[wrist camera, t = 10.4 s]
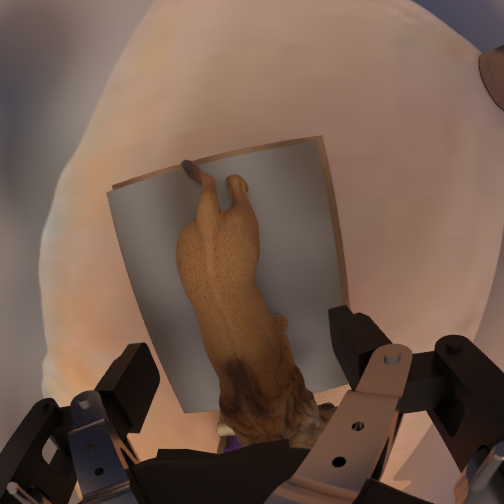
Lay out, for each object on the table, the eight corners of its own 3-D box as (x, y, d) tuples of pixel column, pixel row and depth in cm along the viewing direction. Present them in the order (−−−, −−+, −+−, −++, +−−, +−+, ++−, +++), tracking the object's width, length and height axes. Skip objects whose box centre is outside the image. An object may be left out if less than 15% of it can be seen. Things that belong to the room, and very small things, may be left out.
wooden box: (307, 145, 24) (345, 120, 14) (336, 326, 28) (373, 385, 18) (135, 185, 24) (77, 186, 14) (186, 356, 28) (165, 422, 18)
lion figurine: (327, 361, 17) (374, 468, 8) (253, 391, 17) (259, 504, 9) (228, 141, 14) (206, 76, 5) (141, 186, 14) (32, 190, 6)
